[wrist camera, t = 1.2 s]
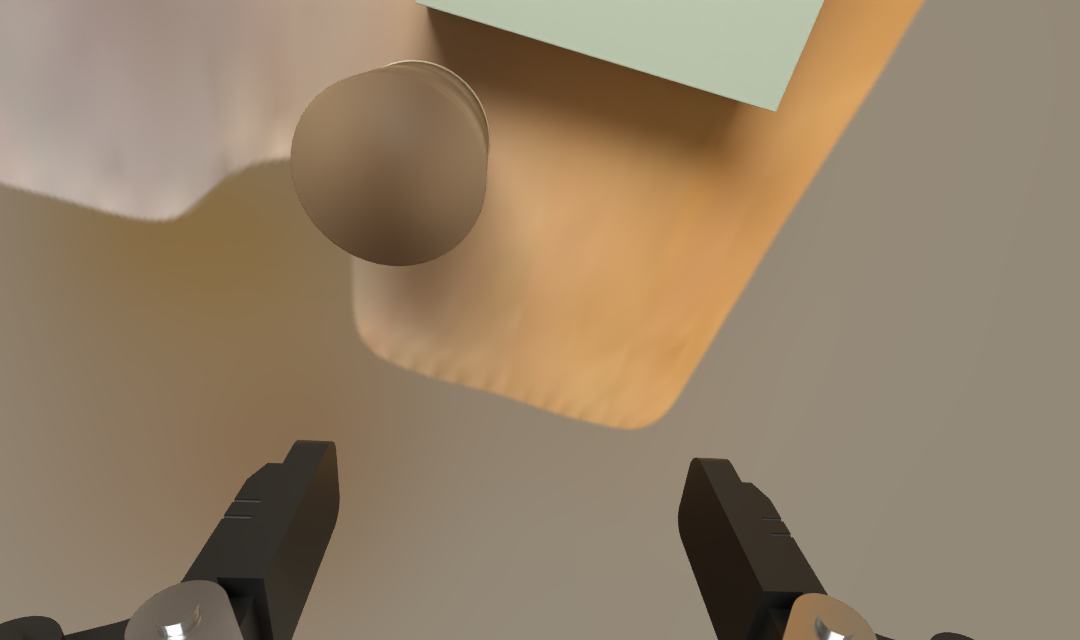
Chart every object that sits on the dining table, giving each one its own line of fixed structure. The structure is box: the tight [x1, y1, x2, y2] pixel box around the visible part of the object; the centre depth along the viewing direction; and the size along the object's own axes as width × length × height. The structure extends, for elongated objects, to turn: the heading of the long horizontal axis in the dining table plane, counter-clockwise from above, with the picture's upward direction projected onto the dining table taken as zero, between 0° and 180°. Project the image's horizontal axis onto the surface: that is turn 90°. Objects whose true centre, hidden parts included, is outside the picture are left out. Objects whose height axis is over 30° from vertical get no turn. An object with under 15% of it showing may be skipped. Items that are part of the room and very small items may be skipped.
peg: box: [291, 60, 490, 266], centre depth 22 cm, size 6×6×12 cm
